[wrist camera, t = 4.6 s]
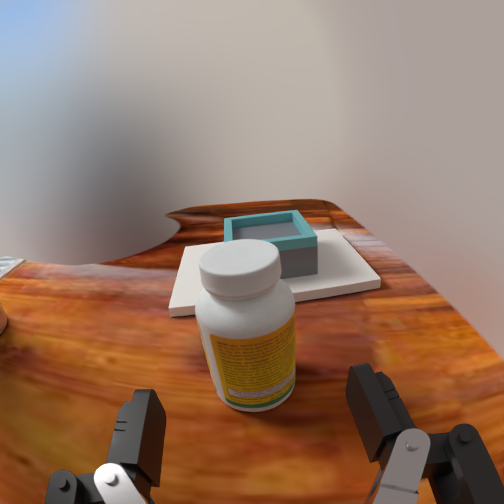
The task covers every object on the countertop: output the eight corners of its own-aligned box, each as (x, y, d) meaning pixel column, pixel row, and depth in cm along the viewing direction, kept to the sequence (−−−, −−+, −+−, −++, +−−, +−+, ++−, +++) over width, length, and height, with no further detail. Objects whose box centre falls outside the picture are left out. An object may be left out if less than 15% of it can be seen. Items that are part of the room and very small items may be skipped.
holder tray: (171, 316, 27) (157, 269, 25) (186, 253, 40) (179, 217, 37) (380, 287, 27) (384, 240, 25) (335, 235, 40) (334, 199, 38)
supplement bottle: (201, 381, 19) (166, 256, 15) (260, 346, 22) (247, 226, 18) (249, 430, 15) (223, 296, 11) (313, 383, 18) (316, 250, 14)
